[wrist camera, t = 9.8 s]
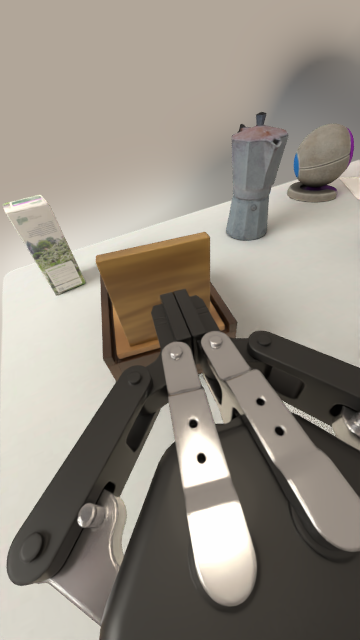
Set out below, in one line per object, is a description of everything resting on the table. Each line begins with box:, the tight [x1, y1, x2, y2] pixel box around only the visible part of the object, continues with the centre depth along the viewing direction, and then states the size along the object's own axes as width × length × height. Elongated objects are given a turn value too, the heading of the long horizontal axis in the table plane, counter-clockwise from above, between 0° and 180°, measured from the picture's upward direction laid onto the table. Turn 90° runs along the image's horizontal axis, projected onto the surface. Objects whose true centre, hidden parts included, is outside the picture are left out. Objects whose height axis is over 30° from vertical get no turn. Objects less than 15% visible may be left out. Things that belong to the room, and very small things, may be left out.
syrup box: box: [3, 195, 86, 295], centre depth 38 cm, size 6×6×14 cm
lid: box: [96, 232, 225, 359], centre depth 24 cm, size 18×11×10 cm, turn 16°
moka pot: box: [226, 112, 288, 240], centre depth 44 cm, size 10×15×20 cm, turn 18°
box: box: [100, 274, 237, 382], centre depth 30 cm, size 18×13×7 cm
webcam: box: [287, 124, 354, 202], centre depth 58 cm, size 13×13×15 cm
